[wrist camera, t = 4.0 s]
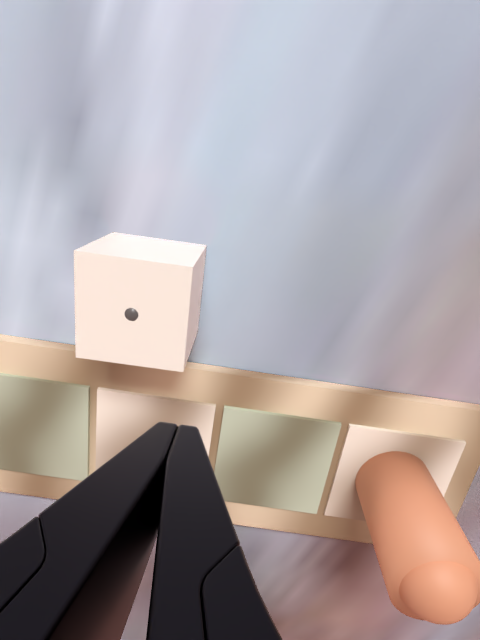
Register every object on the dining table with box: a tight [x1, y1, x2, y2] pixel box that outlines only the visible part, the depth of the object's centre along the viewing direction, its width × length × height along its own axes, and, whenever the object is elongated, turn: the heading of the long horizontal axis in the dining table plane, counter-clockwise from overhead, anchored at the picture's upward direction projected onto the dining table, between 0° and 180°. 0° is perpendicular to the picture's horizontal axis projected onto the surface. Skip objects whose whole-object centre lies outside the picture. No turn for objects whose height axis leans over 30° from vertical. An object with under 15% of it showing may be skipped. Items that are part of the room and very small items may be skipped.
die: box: [74, 232, 207, 372], centre depth 16 cm, size 4×4×4 cm
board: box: [0, 334, 480, 544], centre depth 20 cm, size 26×9×1 cm, turn 82°
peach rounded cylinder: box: [355, 451, 480, 624], centre depth 17 cm, size 4×4×6 cm
